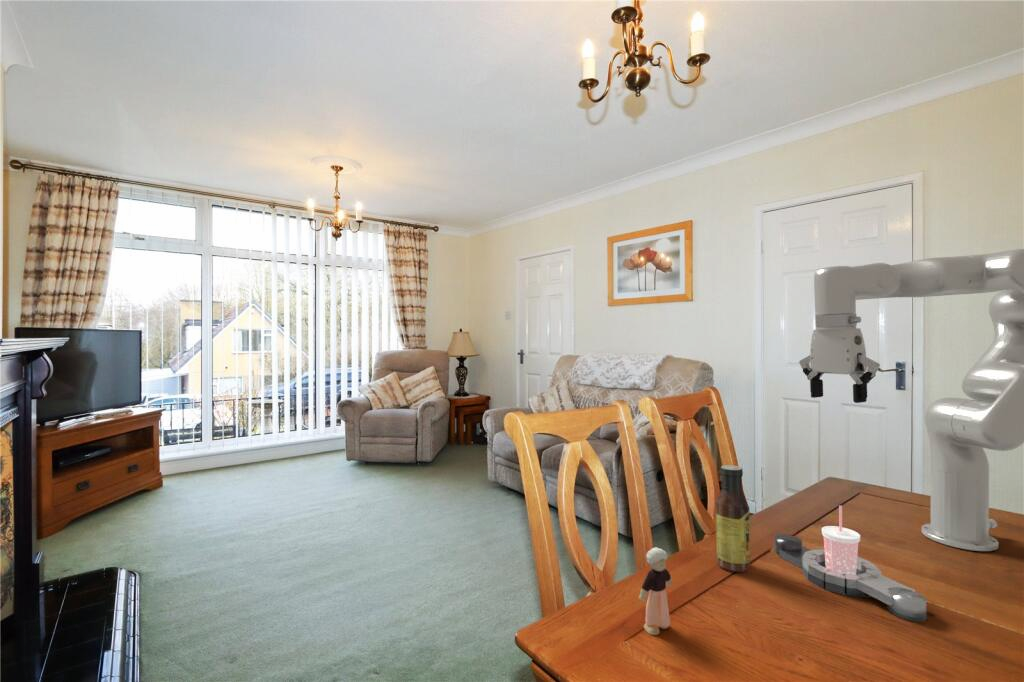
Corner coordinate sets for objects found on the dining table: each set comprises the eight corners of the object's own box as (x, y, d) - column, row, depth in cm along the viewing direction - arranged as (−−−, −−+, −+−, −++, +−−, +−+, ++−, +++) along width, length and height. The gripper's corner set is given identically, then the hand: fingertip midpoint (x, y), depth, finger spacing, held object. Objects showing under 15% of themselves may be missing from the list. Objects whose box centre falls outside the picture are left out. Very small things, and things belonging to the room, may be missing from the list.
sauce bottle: (754, 575, 93) (754, 473, 93) (720, 572, 94) (719, 471, 94) (745, 559, 99) (744, 464, 99) (713, 557, 101) (712, 462, 100)
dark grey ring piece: (799, 544, 106) (799, 530, 106) (896, 589, 87) (896, 573, 87) (756, 552, 102) (756, 538, 102) (847, 602, 83) (847, 585, 83)
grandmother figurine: (658, 642, 73) (657, 560, 73) (635, 632, 76) (634, 552, 76) (679, 620, 79) (679, 543, 79) (657, 611, 81) (657, 536, 81)
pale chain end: (833, 560, 98) (833, 545, 98) (948, 614, 79) (948, 596, 79) (788, 569, 95) (788, 554, 95) (897, 629, 76) (897, 610, 76)
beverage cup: (868, 584, 89) (868, 509, 89) (845, 590, 87) (845, 513, 87) (836, 569, 95) (836, 498, 95) (814, 574, 93) (813, 502, 93)
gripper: (888, 320, 100) (891, 402, 100) (811, 323, 116) (813, 394, 116) (864, 321, 97) (866, 406, 97) (788, 324, 113) (790, 396, 114)
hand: (837, 399), depth 107 cm, fingers open, 9 cm apart
